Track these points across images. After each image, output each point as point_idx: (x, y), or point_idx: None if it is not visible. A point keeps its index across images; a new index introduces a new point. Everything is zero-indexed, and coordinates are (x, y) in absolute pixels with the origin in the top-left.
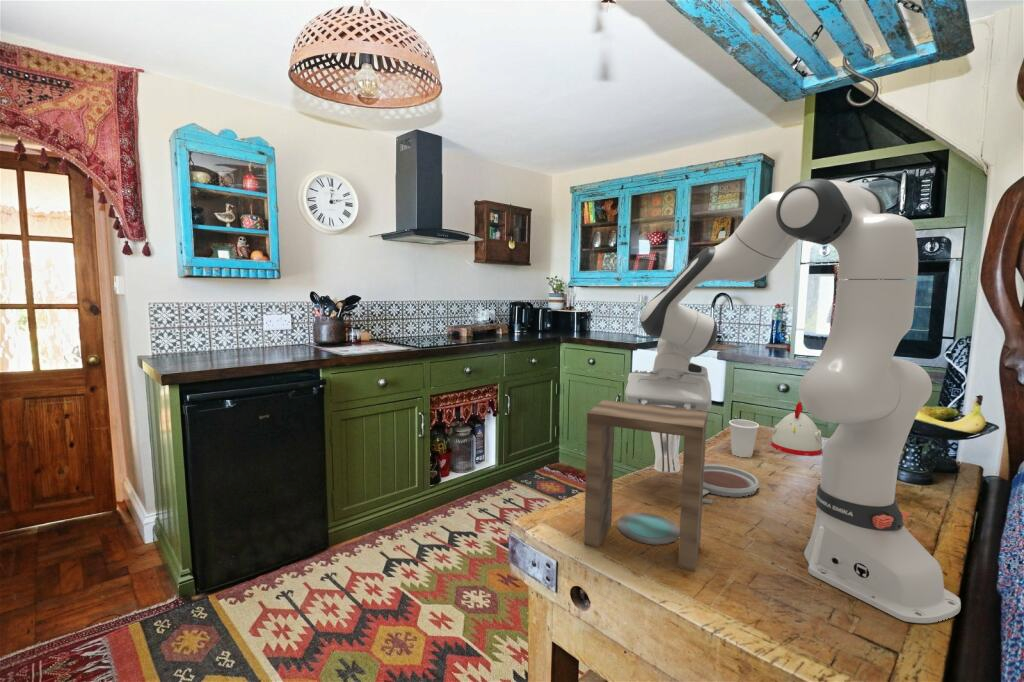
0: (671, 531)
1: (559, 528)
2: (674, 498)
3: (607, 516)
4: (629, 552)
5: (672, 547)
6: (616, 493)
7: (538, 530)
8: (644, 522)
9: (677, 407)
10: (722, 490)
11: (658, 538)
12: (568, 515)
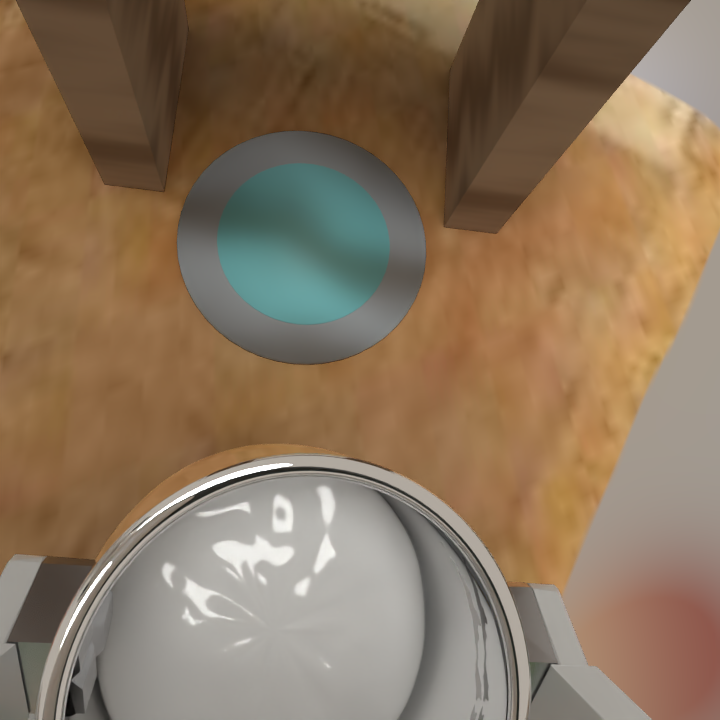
0: (213, 237)
1: (605, 148)
2: None
3: (465, 129)
4: (349, 70)
5: (208, 139)
6: (488, 537)
7: (661, 116)
8: (324, 271)
9: (63, 656)
10: None
11: (260, 170)
12: (611, 249)
